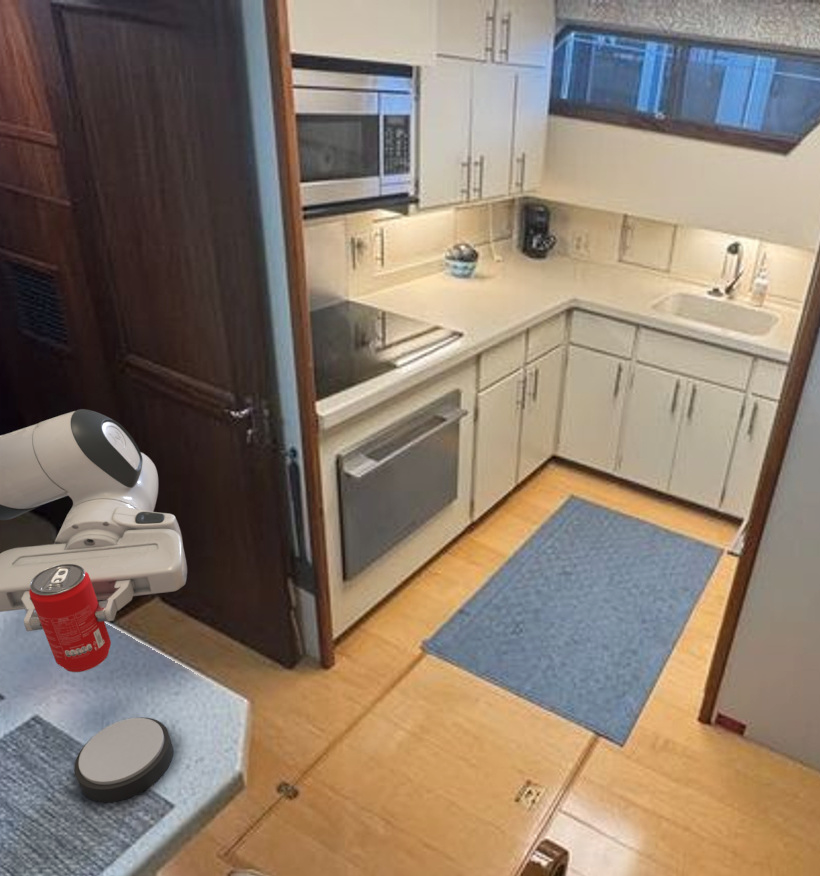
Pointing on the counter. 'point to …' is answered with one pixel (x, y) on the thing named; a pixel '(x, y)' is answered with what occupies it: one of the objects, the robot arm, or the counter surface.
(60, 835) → the counter surface
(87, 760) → the scale
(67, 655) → the beverage can
